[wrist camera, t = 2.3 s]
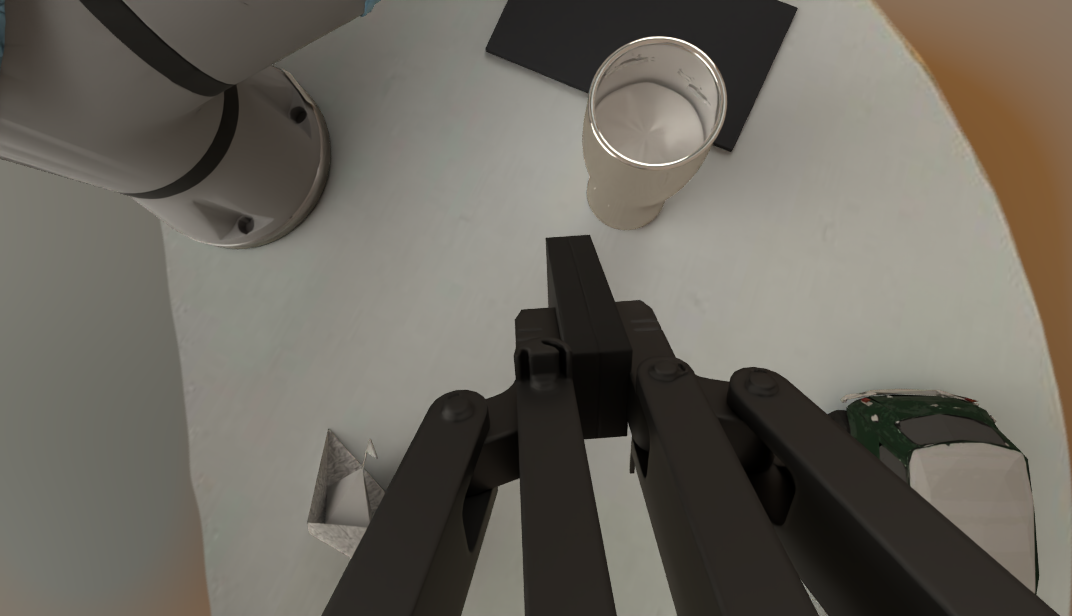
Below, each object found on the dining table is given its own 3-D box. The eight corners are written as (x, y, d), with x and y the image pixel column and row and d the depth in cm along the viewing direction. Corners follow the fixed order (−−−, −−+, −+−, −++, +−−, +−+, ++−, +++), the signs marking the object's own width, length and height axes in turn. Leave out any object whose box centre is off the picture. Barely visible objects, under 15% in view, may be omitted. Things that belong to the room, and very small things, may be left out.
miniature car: (832, 639, 35) (906, 727, 27) (822, 386, 36) (891, 401, 28) (966, 644, 35) (1082, 737, 27) (952, 386, 36) (1060, 401, 28)
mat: (485, 51, 40) (485, 48, 39) (548, -82, 40) (548, -86, 40) (730, 152, 38) (732, 150, 37) (795, 11, 38) (798, 7, 38)
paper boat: (267, 505, 38) (289, 401, 36) (346, 484, 43) (369, 391, 41) (336, 627, 31) (369, 506, 29) (421, 585, 36) (455, 479, 34)
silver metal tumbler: (610, 132, 39) (630, 6, 24) (688, 175, 38) (760, 73, 23) (564, 208, 39) (555, 130, 24) (642, 253, 38) (683, 201, 23)
